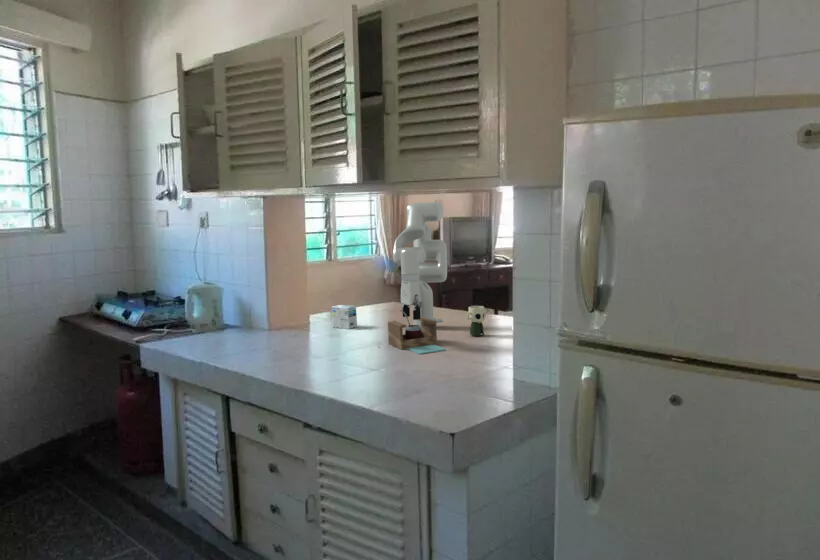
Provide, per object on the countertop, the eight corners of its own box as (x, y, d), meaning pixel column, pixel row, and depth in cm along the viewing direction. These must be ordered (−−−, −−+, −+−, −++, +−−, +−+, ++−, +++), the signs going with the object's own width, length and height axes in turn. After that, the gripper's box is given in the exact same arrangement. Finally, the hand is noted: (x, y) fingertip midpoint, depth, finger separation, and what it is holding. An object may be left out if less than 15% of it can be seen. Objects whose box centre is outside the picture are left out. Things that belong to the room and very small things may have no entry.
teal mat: (433, 345, 268) (433, 344, 268) (445, 350, 260) (445, 348, 259) (408, 349, 263) (408, 348, 263) (419, 354, 254) (419, 352, 254)
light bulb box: (357, 327, 316) (356, 305, 315) (349, 329, 311) (348, 307, 309) (340, 325, 322) (339, 304, 321) (332, 327, 316) (331, 306, 315)
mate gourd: (424, 345, 271) (423, 310, 269) (407, 347, 268) (406, 311, 266) (417, 341, 278) (416, 307, 276) (400, 343, 275) (399, 309, 273)
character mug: (473, 338, 280) (472, 309, 279) (462, 336, 286) (461, 307, 284) (491, 335, 286) (491, 306, 285) (480, 332, 292) (480, 304, 291)
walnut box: (423, 339, 282) (422, 317, 281) (436, 344, 271) (436, 321, 270) (388, 344, 274) (387, 321, 273) (400, 349, 264) (400, 325, 263)
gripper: (393, 277, 275) (394, 316, 277) (411, 280, 260) (412, 321, 262) (409, 276, 279) (410, 314, 280) (427, 278, 263) (429, 319, 265)
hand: (411, 318), depth 271 cm, fingers open, 9 cm apart
